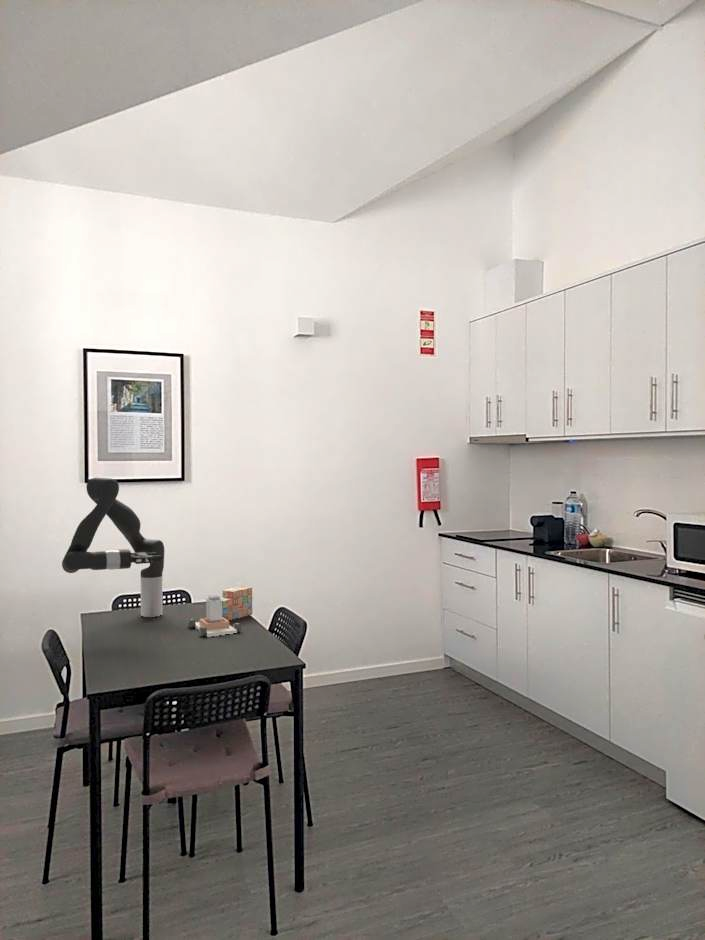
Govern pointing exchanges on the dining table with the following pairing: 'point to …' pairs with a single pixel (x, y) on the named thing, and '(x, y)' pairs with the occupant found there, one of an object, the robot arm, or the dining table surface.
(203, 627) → the chassis
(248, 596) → the stack of blocks
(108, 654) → the dining table surface
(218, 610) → the grey tall block
